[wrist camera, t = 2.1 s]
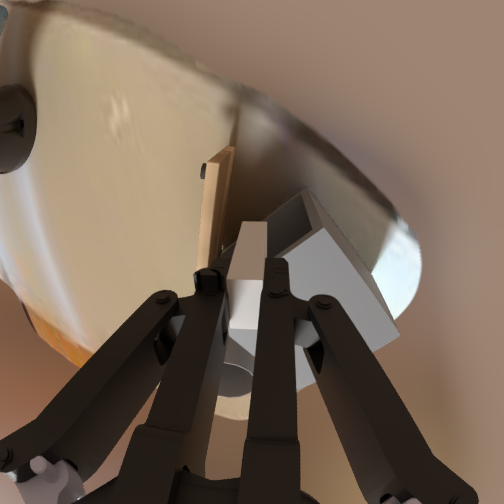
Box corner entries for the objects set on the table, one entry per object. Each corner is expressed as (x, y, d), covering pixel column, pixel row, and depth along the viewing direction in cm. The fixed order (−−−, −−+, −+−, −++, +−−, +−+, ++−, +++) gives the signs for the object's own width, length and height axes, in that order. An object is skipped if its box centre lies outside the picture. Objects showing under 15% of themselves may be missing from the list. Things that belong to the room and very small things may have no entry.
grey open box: (222, 251, 39) (202, 312, 28) (306, 186, 34) (323, 227, 23) (293, 322, 44) (298, 389, 33) (371, 273, 39) (400, 335, 28)
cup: (199, 333, 47) (185, 380, 38) (227, 305, 43) (216, 353, 35) (239, 357, 49) (233, 403, 40) (270, 332, 45) (269, 381, 37)
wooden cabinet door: (203, 251, 39) (181, 301, 29) (215, 144, 32) (189, 159, 22) (221, 255, 39) (205, 306, 29) (236, 147, 32) (220, 163, 22)
